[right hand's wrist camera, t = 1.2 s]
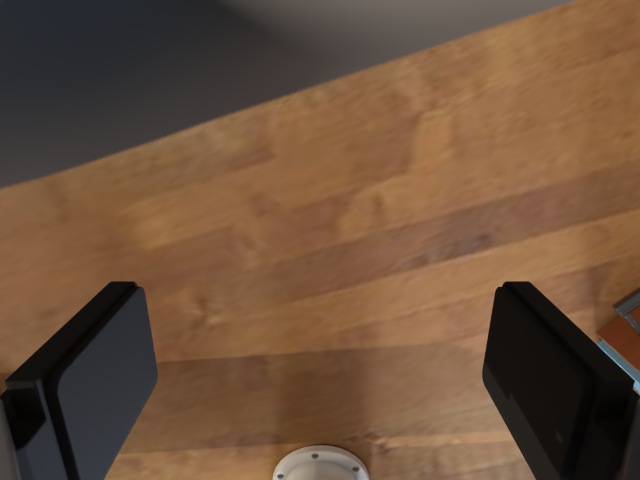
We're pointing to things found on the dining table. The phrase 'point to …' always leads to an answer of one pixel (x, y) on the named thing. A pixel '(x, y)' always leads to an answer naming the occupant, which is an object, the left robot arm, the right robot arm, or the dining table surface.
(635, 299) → the drawer
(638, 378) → the cabinet
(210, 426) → the dining table surface
